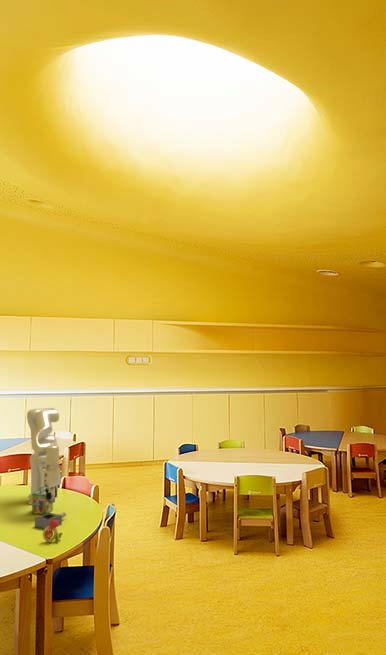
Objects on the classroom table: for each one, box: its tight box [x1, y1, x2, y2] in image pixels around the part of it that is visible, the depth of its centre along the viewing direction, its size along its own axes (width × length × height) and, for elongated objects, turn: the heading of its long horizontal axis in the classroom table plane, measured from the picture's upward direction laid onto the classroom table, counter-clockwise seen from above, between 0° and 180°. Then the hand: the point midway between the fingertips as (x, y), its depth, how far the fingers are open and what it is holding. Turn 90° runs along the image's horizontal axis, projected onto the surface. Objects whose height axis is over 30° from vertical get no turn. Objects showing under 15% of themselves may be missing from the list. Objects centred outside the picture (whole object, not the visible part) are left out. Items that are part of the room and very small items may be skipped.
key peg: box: [48, 487, 56, 503], centre depth 265 cm, size 5×5×11 cm
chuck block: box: [34, 512, 67, 530], centre depth 251 cm, size 10×17×5 cm, turn 151°
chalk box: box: [31, 486, 54, 515], centre depth 273 cm, size 9×9×15 cm
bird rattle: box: [42, 520, 63, 544], centre depth 225 cm, size 6×11×9 cm
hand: (51, 497), depth 265 cm, fingers closed on key peg, 4 cm apart
